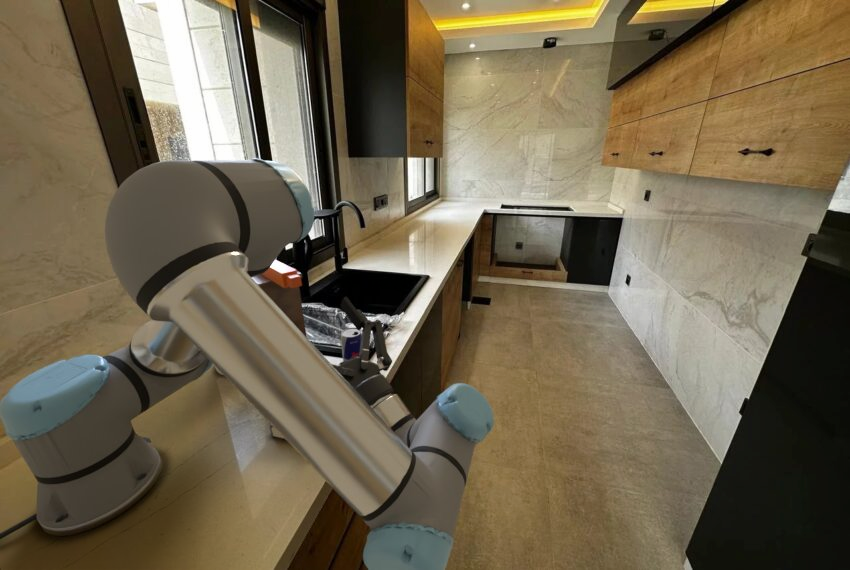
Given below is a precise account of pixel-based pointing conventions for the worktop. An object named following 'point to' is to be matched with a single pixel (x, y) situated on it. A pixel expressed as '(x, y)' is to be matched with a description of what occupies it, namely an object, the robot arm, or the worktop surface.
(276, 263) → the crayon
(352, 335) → the energy drink
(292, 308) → the brown post
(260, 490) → the worktop surface
